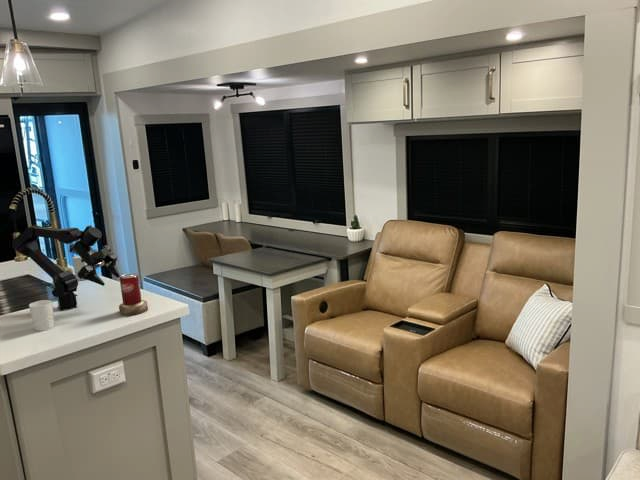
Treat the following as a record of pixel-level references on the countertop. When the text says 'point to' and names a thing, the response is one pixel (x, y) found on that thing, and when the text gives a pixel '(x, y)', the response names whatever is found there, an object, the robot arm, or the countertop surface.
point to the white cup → (42, 315)
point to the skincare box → (78, 265)
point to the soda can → (130, 289)
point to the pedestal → (133, 309)
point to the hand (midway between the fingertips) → (111, 281)
